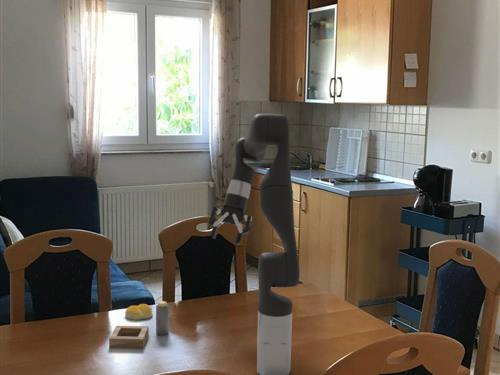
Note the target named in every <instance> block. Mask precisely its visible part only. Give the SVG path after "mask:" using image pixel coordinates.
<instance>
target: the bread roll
mask: <svg viewBox="0 0 500 375" xmlns="http://www.w3.org/2000/svg"><path fill="white" fill-rule="evenodd" d="M124 314H125V317H126V318H127V319H128V320H132V321H140V320H147V319H150V318H151V317H152V316H154V315H153V310H152V308H151V306H150V305H149V304H146V303H140V304H139V305H130V306H128V307H127V308H126V309H125V312H124Z"/></svg>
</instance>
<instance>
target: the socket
mask: <svg viewBox="0 0 500 375" xmlns="http://www.w3.org/2000/svg"><path fill="white" fill-rule="evenodd" d="M149 328H150V327H149V326H147V325H146V326H145V325H142V326H141V325H116V326H115V327H114V329H113V331H112V333H111V335H110V336H109V338H108V348H109V349H129V350H130V349H131V350H132V349H133V350H134V349H137V350H138V349H139V350H140V349H141V350H144V347H145V345H146V342H147V340H148V337H149V332H150V331H149Z"/></svg>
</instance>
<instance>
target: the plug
mask: <svg viewBox="0 0 500 375" xmlns="http://www.w3.org/2000/svg"><path fill="white" fill-rule="evenodd" d="M169 313H170V305H169V304H168V303H167V301H164V300H163V301H162V300H161V301H158V302H157V304H156V305H155V335H156V336H159V337H164V336H165V337H166V336H168V335H169V334H170V332H169V331H170V327H169V326H170V314H169Z"/></svg>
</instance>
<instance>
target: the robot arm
mask: <svg viewBox="0 0 500 375" xmlns="http://www.w3.org/2000/svg"><path fill="white" fill-rule="evenodd" d="M290 135H291V134H290V121H289V118H288V117H287V115H285V114H281V113H279V114H278V113H257V114H255V115H254V116H253V117H252V119H251V121H250V126H249V129H248V134H247V136H246V137H245V136H243V137H240V138H239V139H238V140H237V141H236V142H235V147H234V155H235V159H234V170H233V172H232V177H231V180H230V183H229V185H228V188H227V192H226V195H225V198H224V199H225V200H224V203H223V206H222V208H217V207H216V206H214V207H213V208H212V211H211V214H210V216H209V220H208V224H210V225H211V226H212V230H211V232H210V236H211V238H212V239H215V240H216V238H217V234H218V231H219V227H221V225H223V224H224V223H225V224H229V225H232V226H236V228H237V231H238V232H237V236H236V239H235V242H234V243H235V245H238V246H239V244H241V243H242V240H243V237H244V235H246V234H247V235H248V234H250V233H251V227H252V222H253V216H252V215H250V214H245V212H246V208H247V204H248V200H249V198H250V193H251V188H252V183H253V180H254V176H255V169H254V168H252V166H249V165H247V164H246V163H245V162H244V159H245V160H247V161H251V162H254V163H260V162H261V161H263V160H264V157H265V156H266V149H267V147H268V146H276V148H277V152H276V156H275V158H274V160H273V161H272V164H271V165H270V167H269V169H268V170H267V172H266V173H265V174H264V175H263V178H262V179H261V181H260V184H259V206H260V209H261V212H262V213H263V215H264V217H265V219H266V220H267V221H268V223H269V224H270V225H271V227H272V228H273V229H274V231H275V232H276V234H277V235H278V237H279V239H280V242H281V244H282V248H283V251H284V252H283V251H281V252H279V251H278V252H261V254H260V255H259V257H258V264H257V266H258V267H257V270H258V271H257V273H258V274H257V277H258V305H257V306H258V308H257V309H258V311H257V340H256V343H257V345H256V350H257V351H256V372H257V374H259V375H289V374H290V373H291V367H292V366H291V362H292V361H291V360H292V358H291V357H292V356H291V355H292V354H291V353H292V334H293V333H292V329H293V328H292V327H293V325H292V324H293V301H292V300H291V299H290V298H288V297H287V296H283V295H281V294H278V293H276V292H274V291H273V290H272V288H292V287H293V288H294V287H297V285H298V284H299V281H300V276H301V275H300V260H299V255H298V254H299V253H298V248H297V247H298V246H297V240H296V238H297V237H296V233H295V232H296V231H295V216H294V215H295V214H294V194H293V182H292V175H291V174H292V173H291V161H290V159H291V158H290V149H291V148H290V144H291V142H290ZM219 214H220V217H219V218H218V219H217V216H218V215H219ZM216 219H217V220H216ZM243 220H245V222H246V223H245V225H244V226H245V228H244V227H243V224H242V221H243Z"/></svg>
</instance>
